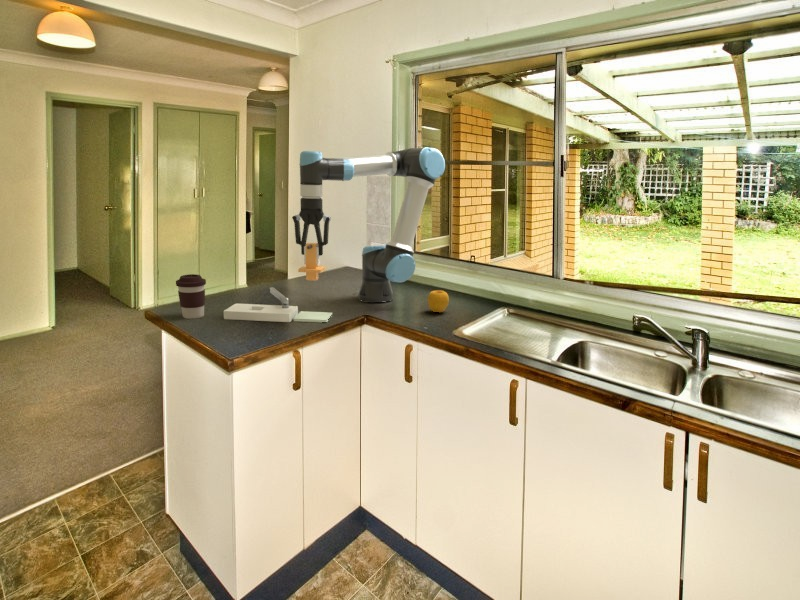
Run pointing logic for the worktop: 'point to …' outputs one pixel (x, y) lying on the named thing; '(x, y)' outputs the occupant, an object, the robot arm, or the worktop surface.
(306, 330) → the worktop surface
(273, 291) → the grey metal rod
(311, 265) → the plug
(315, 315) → the pad
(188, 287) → the coffee cup
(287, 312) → the socket block
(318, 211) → the robot arm
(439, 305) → the apple
